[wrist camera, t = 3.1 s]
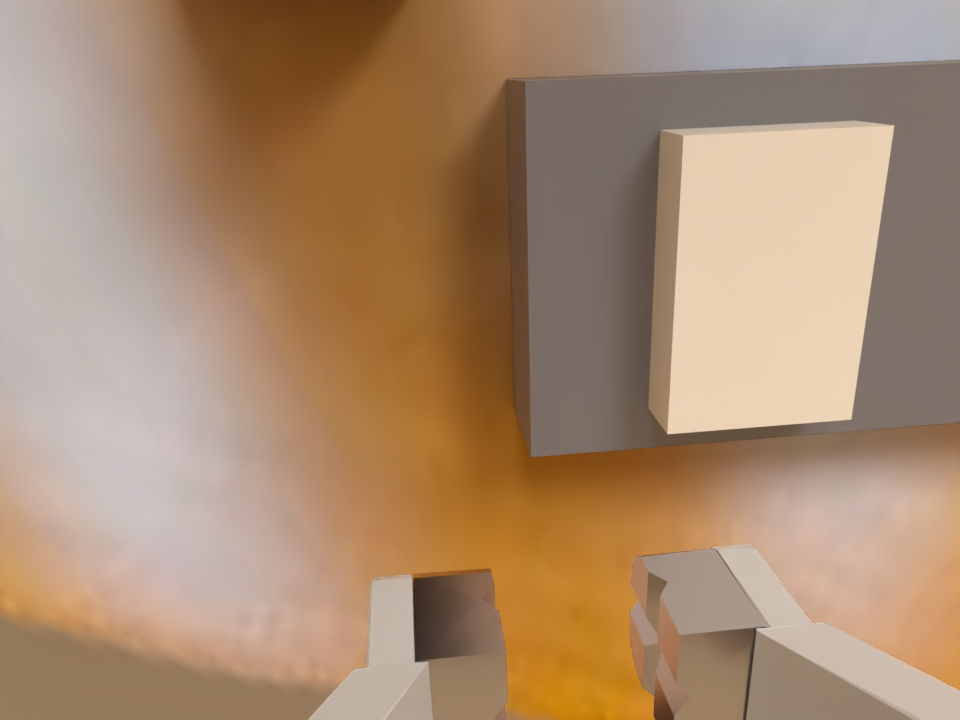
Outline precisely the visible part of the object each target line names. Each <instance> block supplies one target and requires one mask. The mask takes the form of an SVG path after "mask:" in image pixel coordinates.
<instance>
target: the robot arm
mask: <svg viewBox="0 0 960 720" xmlns="http://www.w3.org/2000/svg"><path fill="white" fill-rule="evenodd" d="M631 584H632V586H633V589H634V591H635V593H636V595H637V598H638V600H639V601H638V603H637V604H636V605H635V606H634V608H633V609H632V610H631V611H630V640H631V648H632V656H633V660H634V664H635V667H636V671H637V674H638V677H639V679H640V682H641V685H642V687H643V688H644V689H645V690H647V691H648V692H650V693H651V694H652V695H654V718H655V720H960V691H959V690H957V689H955V688H953V687H952V686H950V685H948V684H946V683H944V682H942V681H940V680H938V679H936V678H934V677H932V676H930V675H928V674H926V673H924V672H922V671H920V670H918V669H916V668H914V667H912V666H910V665H908V664H906V663H904V662H902V661H900V660H898V659H896V658H894V657H892V656H890V655H888V654H886V653H884V652H882V651H880V650H878V649H876V648H874V647H872V646H870V645H868V644H866V643H864V642H862V641H860V640H858V639H856V638H854V637H852V636H850V635H848V634H846V633H844V632H842V631H840V630H838V629H836V628H834V627H832V626H830V625H829V624H827V623H825V622H822V623H812V622H811V621H810V619H809V618H808V617H807V615H806V614H805V613H804V611H803V610H802V609H801V607H800V606H799V605H798V603H797V602H796V601H795V600H794V598H793V597H792V596H791V594H790V593H789V592H788V590H787V589H786V588H785V586H784V585H783V584H782V582H781V581H780V580H779V578H778V577H777V576H776V574H775V573H774V572H773V570H772V569H771V568H770V566H769V565H768V564H767V562H766V561H765V560H764V559H763V557H762V556H761V555H760V553H759V552H758V551H757V549H756V548H755V547H754V546H752V545H750V544H748V543H744V544H736V545H728V546H719V547H711V548H710V549H703V550H693V551H683V552H673V553H663V554H653V555H643V556H635V557H634V561H633V565H632V577H631ZM507 702H508V688H507V664H506V649H505V643H504V638H503V632H502V626H501V620H500V614H499V611H498V610H497V609H495V591H494V582H493V577H492V572H491V569H475V570H460V571H446V572H431V573H417V574H413V577H412V575H411V574H404V575H393V576H381V577H373V578H372V581H371V584H370V598H369V617H368V635H367V654H366V668H356V669H353V670H352V671H351V672H350V674H349V675H348V676H347V677H346V678H345V679H344V680H343V681H342V682H341V683H340V685H339V686H338V687H337V688H336V689H335V690H334V691H333V692H332V693H331V695H330V696H329V697H328V698H327V699H326V700H325V701H324V702H323V703H322V704H321V706H320V707H319V708H318V709H317V710H316V711H315V712H314V713H313V714H312V715H311V717H310V718H309V719H308V720H507V718H506V711H505V704H506V703H507Z"/></svg>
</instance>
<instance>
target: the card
mask: <svg viewBox="0 0 960 720" xmlns="http://www.w3.org/2000/svg"><path fill="white" fill-rule="evenodd" d="M893 131H894V125H887V124H879V123H871V122H863V121H835V122H814V123H794V124H773V125H752V126H731V127H711V128H690V129H669V130H660V149H659V172H658V195H657V218H656V241H655V265H654V288H653V311H652V334H651V357H650V380H649V403H648V408H649V410H650V411H651V412H652V414H653V415H654V417H655V418H656V419H657V421H658V422H659V423H660V425H661V426H662V428H663V429H664V430H665V432H666V433H667V434H677V433H690V432H703V431H715V430H728V429H740V428H753V427H765V426H778V425H790V424H803V423H815V422H828V421H840V420H851V418H852V411H853V405H854V398H855V391H856V384H857V377H858V370H859V364H860V357H861V350H862V343H863V336H864V329H865V323H866V316H867V309H868V302H869V295H870V289H871V282H872V275H873V268H874V261H875V254H876V248H877V241H878V234H879V227H880V220H881V213H882V207H883V200H884V193H885V186H886V179H887V172H888V166H889V159H890V152H891V145H892V138H893Z"/></svg>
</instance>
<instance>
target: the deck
mask: <svg viewBox="0 0 960 720" xmlns="http://www.w3.org/2000/svg"><path fill="white" fill-rule="evenodd" d="M507 110H508V152H509V194H510V236H511V278H512V320H513V362H514V404H515V411H516V414H517V417H518V420H519V423H520V426H521V429H522V432H523V435H524V438H525V441H526V444H527V447H528V449H529V452H530V455H531V457H540V456H553V455H565V454H577V453H590V452H602V451H614V450H627V449H639V448H651V447H664V446H676V445H688V444H701V443H713V442H725V441H738V440H750V439H762V438H775V437H787V436H799V435H812V434H824V433H836V432H849V431H861V430H873V429H886V428H898V427H910V426H923V425H935V424H947V423H960V60H948V61H924V62H900V63H877V64H853V65H829V66H806V67H782V68H758V69H735V70H711V71H687V72H663V73H640V74H616V75H592V76H569V77H545V78H521V79H507ZM835 121H863V122H871V123H879V124H887V125H894V131H893V138H892V145H891V152H890V159H889V166H888V172H887V179H886V186H885V193H884V200H883V207H882V213H881V220H880V227H879V234H878V241H877V248H876V254H875V261H874V268H873V275H872V282H871V289H870V295H869V302H868V309H867V316H866V323H865V329H864V336H863V343H862V350H861V357H860V364H859V370H858V377H857V384H856V391H855V398H854V405H853V411H852V418H851V420H840V421H828V422H815V423H803V424H790V425H778V426H765V427H753V428H740V429H728V430H715V431H703V432H690V433H677V434H667V433H666V432H665V430H664V429H663V428H662V426H661V425H660V423H659V422H658V421H657V419H656V418H655V417H654V415H653V414H652V412H651V411H650V410H649V408H648V403H649V380H650V357H651V334H652V311H653V288H654V265H655V241H656V218H657V195H658V172H659V149H660V130H669V129H690V128H711V127H731V126H752V125H773V124H794V123H814V122H835Z"/></svg>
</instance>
